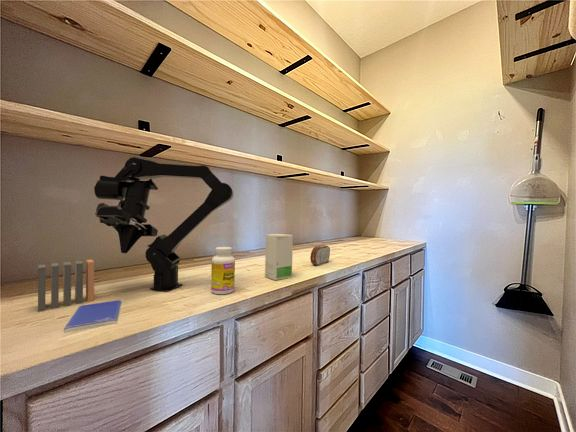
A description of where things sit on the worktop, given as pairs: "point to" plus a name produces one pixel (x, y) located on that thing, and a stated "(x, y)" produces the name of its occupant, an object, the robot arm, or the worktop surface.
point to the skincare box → (278, 256)
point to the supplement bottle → (223, 271)
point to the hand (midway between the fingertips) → (123, 253)
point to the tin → (320, 255)
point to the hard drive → (94, 316)
